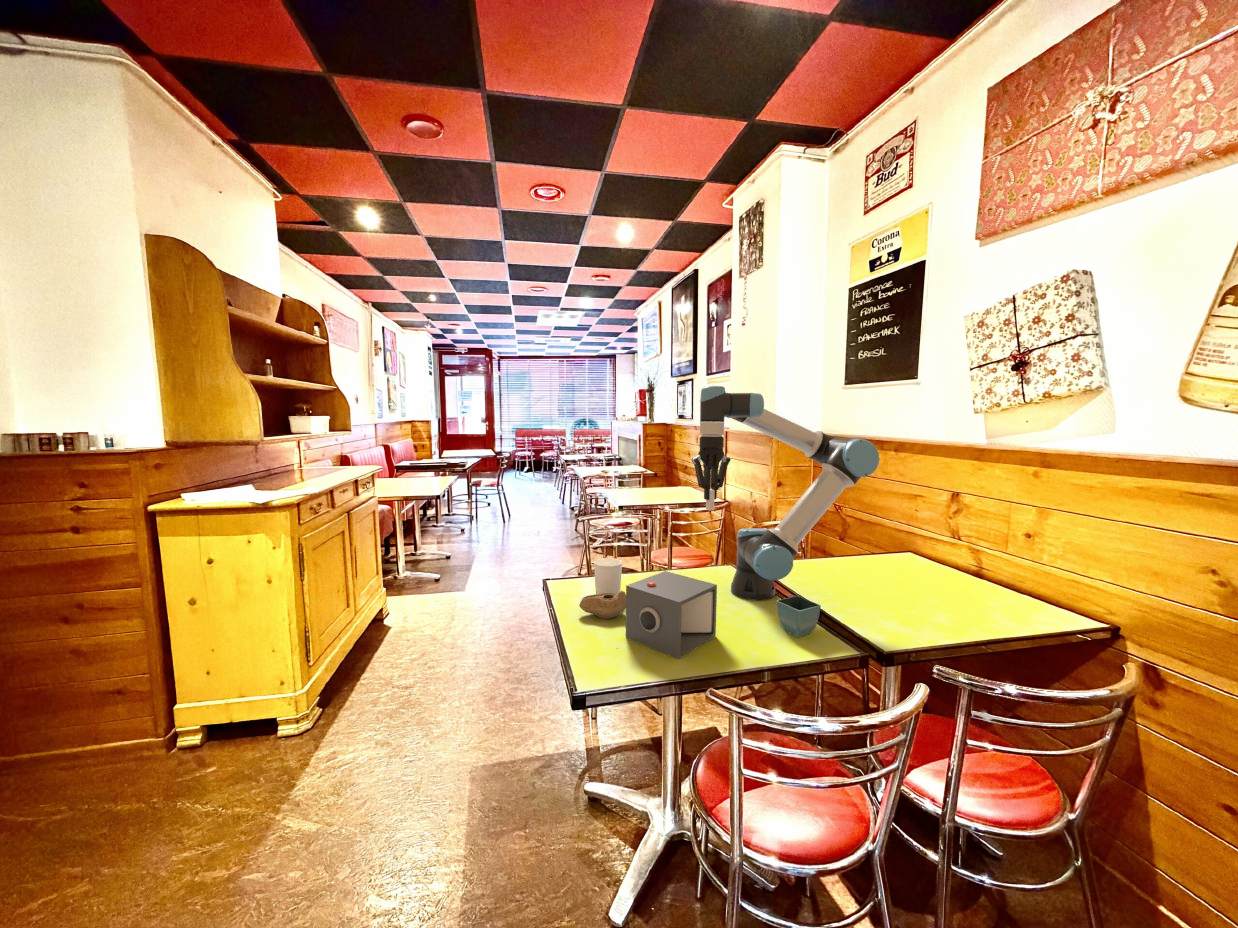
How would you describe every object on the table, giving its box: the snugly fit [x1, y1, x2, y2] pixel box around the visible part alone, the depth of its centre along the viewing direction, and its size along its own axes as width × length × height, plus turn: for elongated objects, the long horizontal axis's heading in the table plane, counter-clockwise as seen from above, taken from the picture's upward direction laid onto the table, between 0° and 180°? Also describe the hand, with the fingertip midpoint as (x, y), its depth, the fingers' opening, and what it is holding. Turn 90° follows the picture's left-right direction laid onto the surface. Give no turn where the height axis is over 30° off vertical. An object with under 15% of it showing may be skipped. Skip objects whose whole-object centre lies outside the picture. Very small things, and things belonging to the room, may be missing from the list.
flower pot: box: [776, 595, 822, 638], centre depth 138 cm, size 9×9×9 cm
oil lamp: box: [578, 590, 626, 620], centre depth 150 cm, size 11×15×8 cm
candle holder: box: [593, 557, 623, 595], centre depth 167 cm, size 10×10×12 cm
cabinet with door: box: [625, 570, 718, 660], centre depth 134 cm, size 20×18×16 cm
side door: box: [681, 591, 713, 632], centre depth 134 cm, size 15×1×12 cm, turn 91°
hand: (710, 509), depth 154 cm, fingers closed
